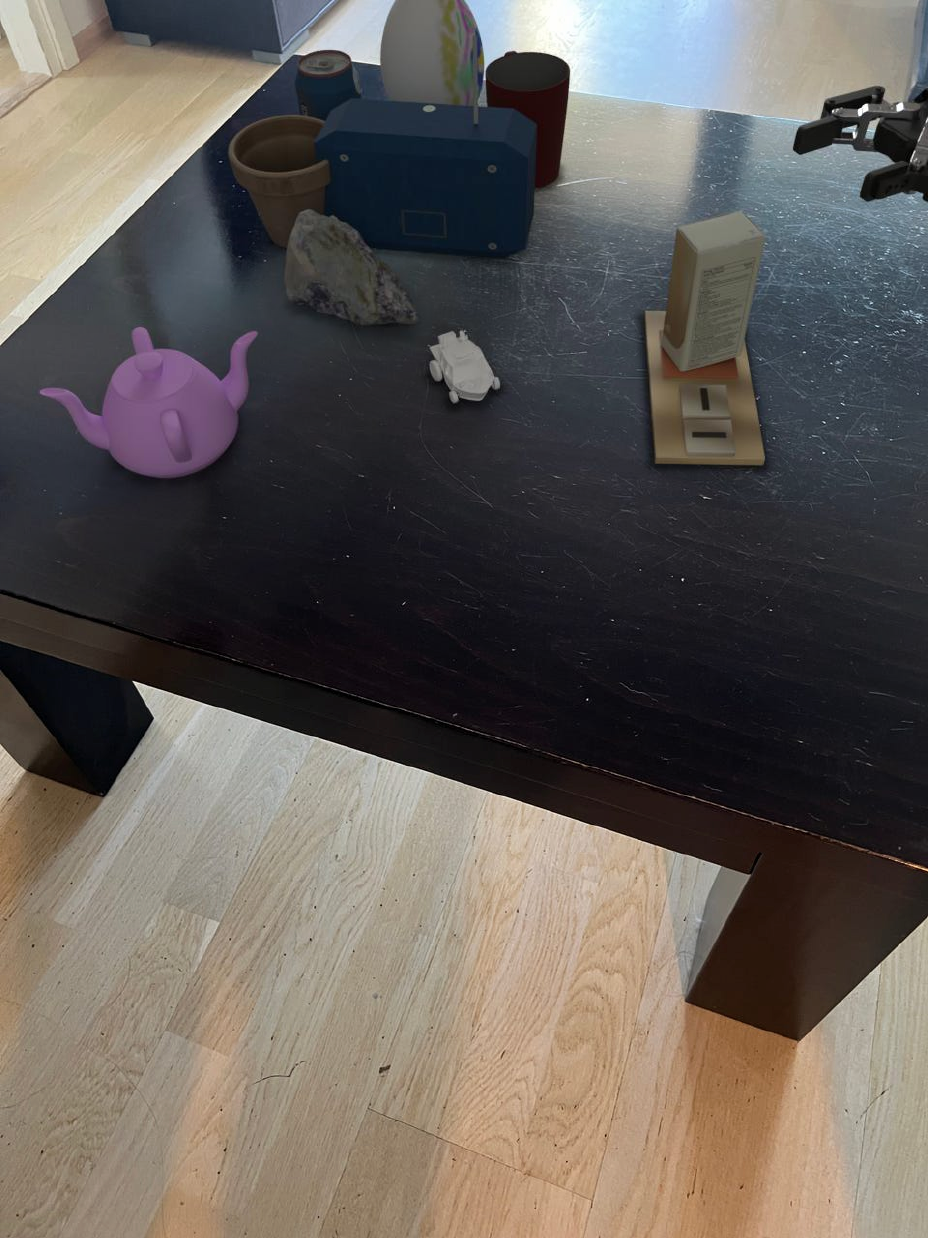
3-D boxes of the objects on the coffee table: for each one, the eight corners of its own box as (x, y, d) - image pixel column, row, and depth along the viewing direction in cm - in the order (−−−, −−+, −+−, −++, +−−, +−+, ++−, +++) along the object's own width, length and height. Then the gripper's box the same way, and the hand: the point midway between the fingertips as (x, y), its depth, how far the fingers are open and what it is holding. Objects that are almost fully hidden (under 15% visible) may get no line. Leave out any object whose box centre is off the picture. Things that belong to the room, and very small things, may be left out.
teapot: (76, 470, 84) (36, 389, 77) (172, 374, 91) (143, 293, 84) (188, 511, 81) (156, 430, 74) (278, 408, 88) (257, 326, 81)
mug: (471, 146, 114) (468, 46, 105) (544, 134, 115) (546, 34, 107) (499, 199, 107) (498, 96, 98) (575, 185, 108) (581, 82, 99)
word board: (763, 465, 81) (766, 453, 80) (654, 463, 82) (656, 451, 81) (738, 318, 93) (741, 305, 92) (643, 317, 94) (645, 304, 93)
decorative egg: (485, 138, 115) (481, -2, 103) (382, 141, 116) (367, 2, 104) (485, 89, 123) (482, -47, 111) (389, 92, 123) (375, -43, 111)
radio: (535, 218, 105) (542, 16, 89) (523, 266, 100) (529, 59, 84) (347, 204, 107) (321, 4, 91) (326, 249, 102) (295, 46, 86)
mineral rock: (425, 338, 93) (417, 243, 85) (319, 369, 91) (300, 274, 83) (382, 267, 100) (370, 173, 92) (282, 293, 98) (261, 200, 90)
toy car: (470, 351, 92) (469, 314, 88) (510, 401, 87) (510, 363, 84) (424, 367, 91) (421, 330, 87) (462, 418, 86) (460, 381, 83)
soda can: (377, 158, 114) (365, 48, 104) (360, 189, 110) (345, 78, 100) (321, 153, 115) (303, 44, 105) (302, 184, 111) (282, 74, 101)
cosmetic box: (719, 329, 91) (745, 207, 81) (742, 357, 88) (771, 234, 78) (656, 345, 90) (674, 223, 80) (677, 374, 87) (698, 251, 77)
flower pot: (339, 270, 101) (325, 176, 92) (233, 261, 102) (211, 168, 94) (364, 209, 107) (354, 117, 99) (265, 201, 109) (247, 110, 101)
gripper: (938, 36, 84) (785, 81, 80) (1068, 103, 76) (905, 157, 72) (910, 123, 90) (766, 169, 86) (1027, 194, 82) (875, 249, 78)
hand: (830, 164), depth 79 cm, fingers open, 8 cm apart
